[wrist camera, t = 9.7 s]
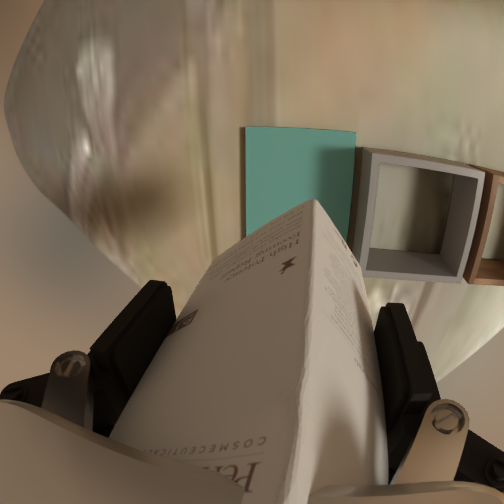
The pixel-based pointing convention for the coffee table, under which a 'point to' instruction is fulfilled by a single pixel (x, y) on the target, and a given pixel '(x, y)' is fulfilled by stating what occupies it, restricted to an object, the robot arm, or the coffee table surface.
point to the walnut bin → (484, 236)
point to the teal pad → (298, 173)
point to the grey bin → (456, 233)
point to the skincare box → (270, 369)
